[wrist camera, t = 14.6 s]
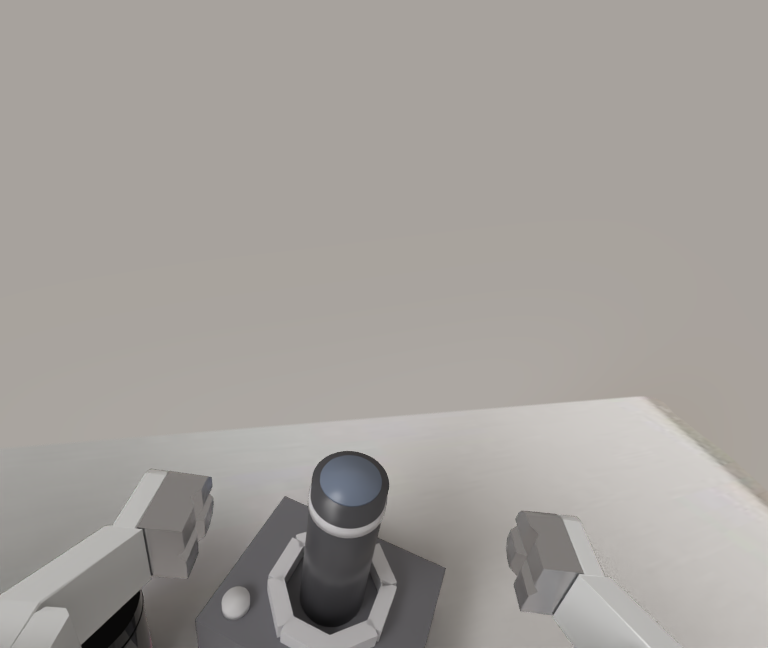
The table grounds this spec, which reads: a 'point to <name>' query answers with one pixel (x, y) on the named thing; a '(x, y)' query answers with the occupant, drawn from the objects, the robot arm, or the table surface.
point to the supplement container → (124, 628)
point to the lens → (341, 535)
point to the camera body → (283, 606)
